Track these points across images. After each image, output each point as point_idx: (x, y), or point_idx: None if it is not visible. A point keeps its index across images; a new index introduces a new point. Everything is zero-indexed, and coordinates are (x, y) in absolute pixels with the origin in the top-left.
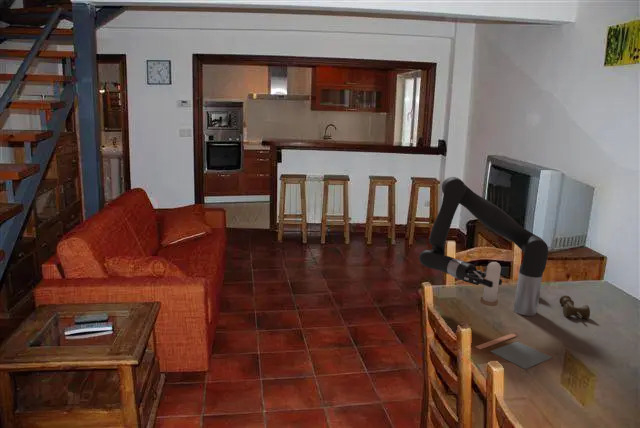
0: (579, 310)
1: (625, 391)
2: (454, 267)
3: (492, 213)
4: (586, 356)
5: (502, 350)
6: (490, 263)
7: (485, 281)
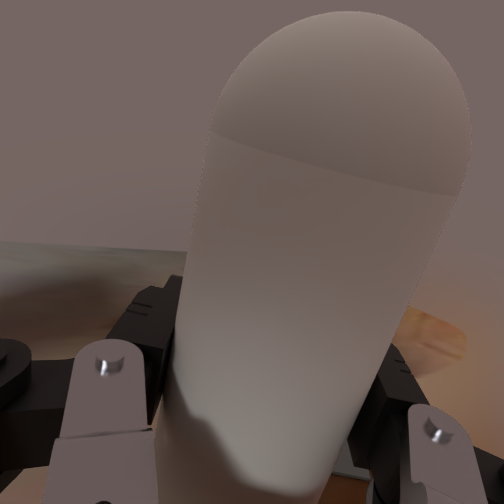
0: None
1: None
2: None
3: None
4: (118, 294)
5: None
6: (452, 70)
7: (413, 382)
